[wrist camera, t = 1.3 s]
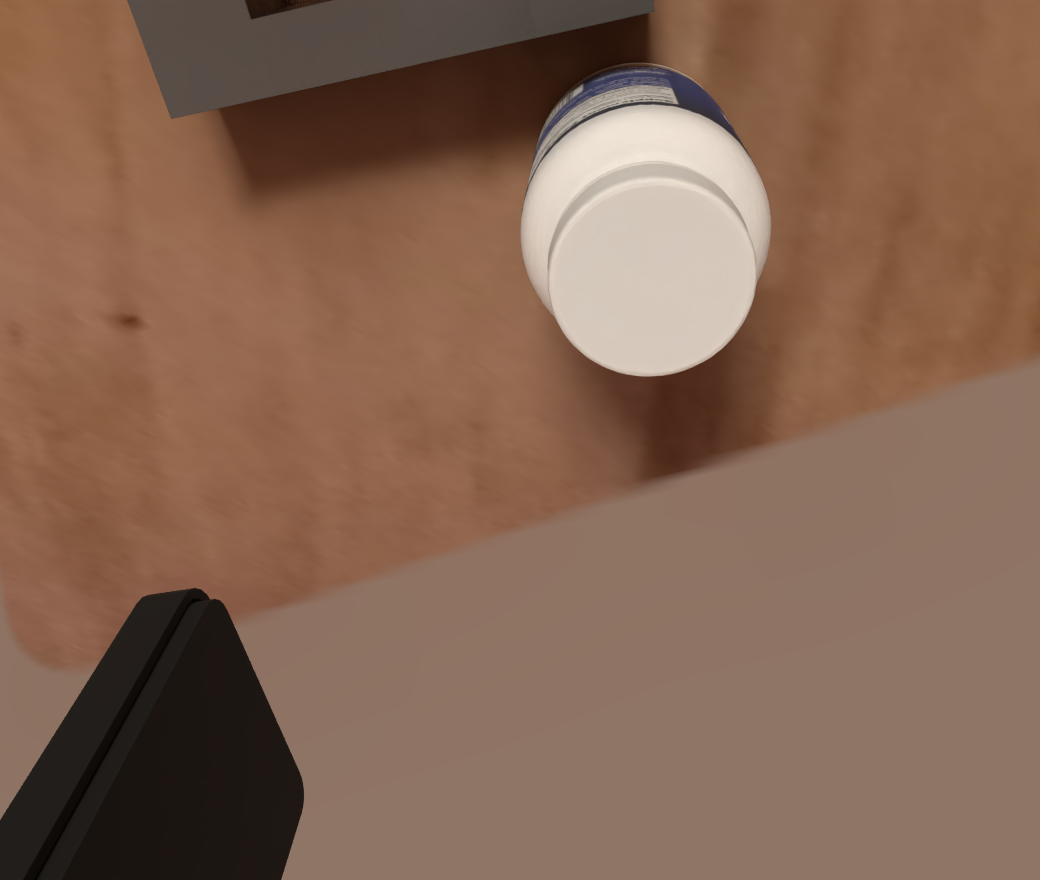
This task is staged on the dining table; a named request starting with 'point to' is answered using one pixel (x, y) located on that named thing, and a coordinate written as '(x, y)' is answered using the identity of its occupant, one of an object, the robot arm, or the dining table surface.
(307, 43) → the socket block
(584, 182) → the pill bottle
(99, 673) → the robot arm
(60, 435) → the dining table surface
